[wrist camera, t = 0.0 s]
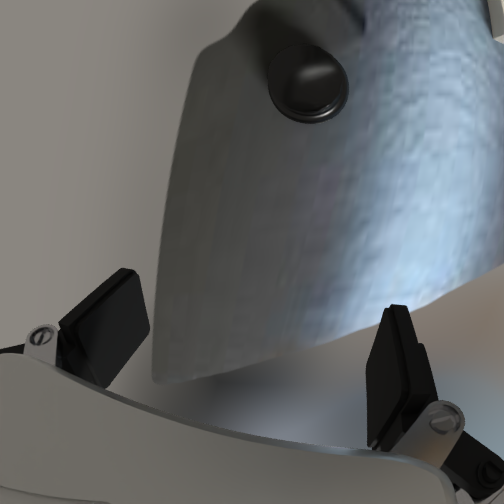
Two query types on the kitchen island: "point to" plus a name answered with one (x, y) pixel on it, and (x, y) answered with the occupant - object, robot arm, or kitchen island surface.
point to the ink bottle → (307, 84)
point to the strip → (497, 19)
